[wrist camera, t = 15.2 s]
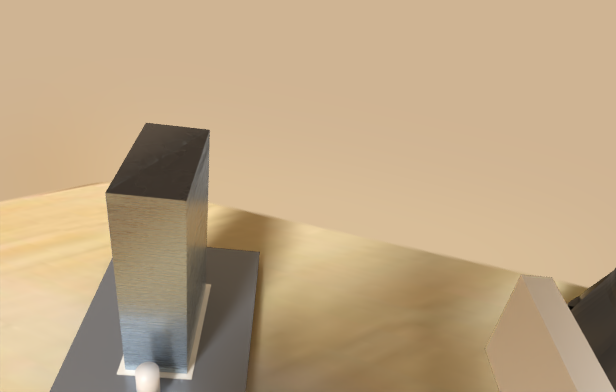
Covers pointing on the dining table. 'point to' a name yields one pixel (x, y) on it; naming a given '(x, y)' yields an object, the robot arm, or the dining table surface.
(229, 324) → the slotted base plate
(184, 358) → the block
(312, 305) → the dining table surface
